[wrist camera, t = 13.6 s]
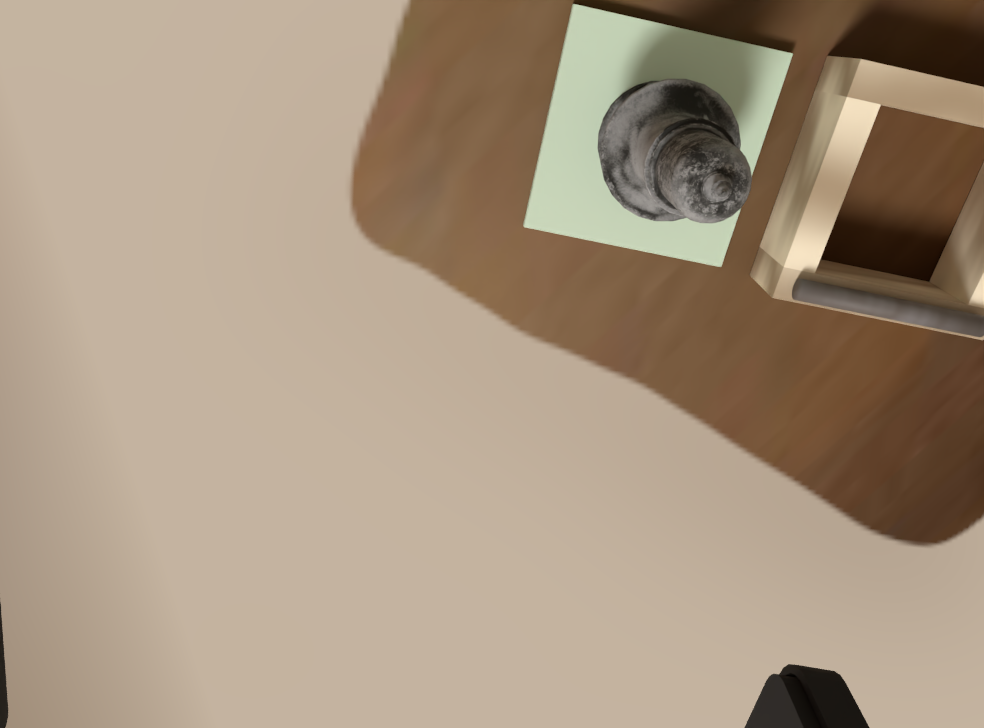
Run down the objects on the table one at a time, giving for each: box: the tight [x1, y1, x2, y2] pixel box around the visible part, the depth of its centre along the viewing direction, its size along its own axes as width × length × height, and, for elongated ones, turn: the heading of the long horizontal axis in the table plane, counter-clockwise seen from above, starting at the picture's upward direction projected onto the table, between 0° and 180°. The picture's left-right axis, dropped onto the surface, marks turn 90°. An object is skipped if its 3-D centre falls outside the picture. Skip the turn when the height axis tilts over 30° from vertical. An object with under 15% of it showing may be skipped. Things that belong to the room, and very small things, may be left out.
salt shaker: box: [598, 79, 752, 223], centre depth 30 cm, size 6×6×12 cm
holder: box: [750, 56, 984, 340], centre depth 35 cm, size 10×10×4 cm
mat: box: [523, 4, 793, 267], centre depth 36 cm, size 10×10×1 cm
